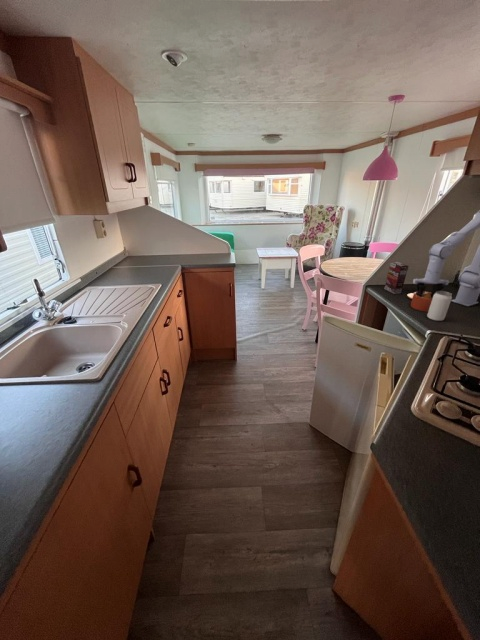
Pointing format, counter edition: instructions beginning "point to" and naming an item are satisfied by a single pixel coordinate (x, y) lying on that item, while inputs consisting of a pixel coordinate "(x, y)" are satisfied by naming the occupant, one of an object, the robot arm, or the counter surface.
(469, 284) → the robot arm
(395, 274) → the supplement box
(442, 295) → the can
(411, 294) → the lid
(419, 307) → the pot
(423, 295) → the bun
